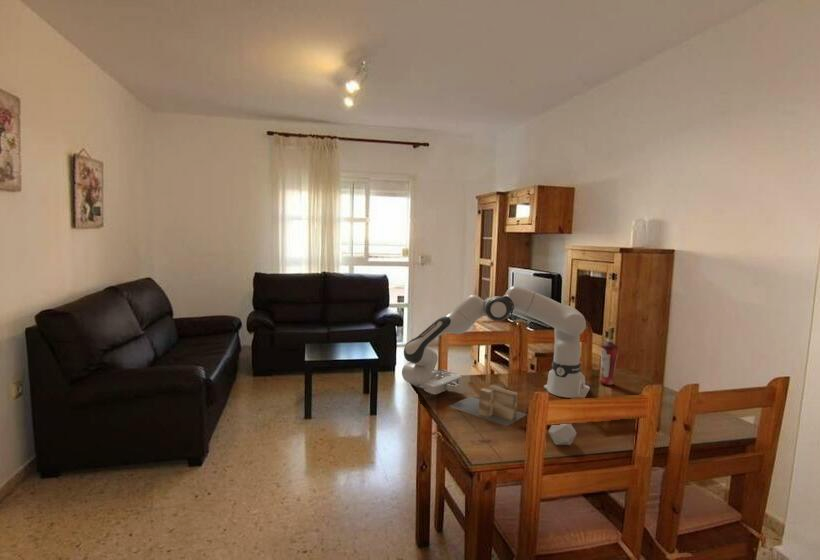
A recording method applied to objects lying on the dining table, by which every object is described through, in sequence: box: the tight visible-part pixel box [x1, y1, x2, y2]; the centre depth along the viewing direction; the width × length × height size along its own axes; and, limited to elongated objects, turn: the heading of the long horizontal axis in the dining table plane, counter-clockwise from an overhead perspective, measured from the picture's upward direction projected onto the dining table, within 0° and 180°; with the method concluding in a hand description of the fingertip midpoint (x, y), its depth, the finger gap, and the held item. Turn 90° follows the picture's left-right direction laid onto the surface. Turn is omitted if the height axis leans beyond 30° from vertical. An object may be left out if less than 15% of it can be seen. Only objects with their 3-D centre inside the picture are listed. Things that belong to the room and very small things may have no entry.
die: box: [547, 423, 577, 446], centre depth 161 cm, size 8×9×10 cm
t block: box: [479, 382, 518, 420], centre depth 183 cm, size 12×12×10 cm
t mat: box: [448, 396, 528, 427], centre depth 187 cm, size 16×27×1 cm, turn 49°
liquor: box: [598, 326, 619, 386], centre depth 224 cm, size 7×7×28 cm
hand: (458, 388), depth 196 cm, fingers closed
